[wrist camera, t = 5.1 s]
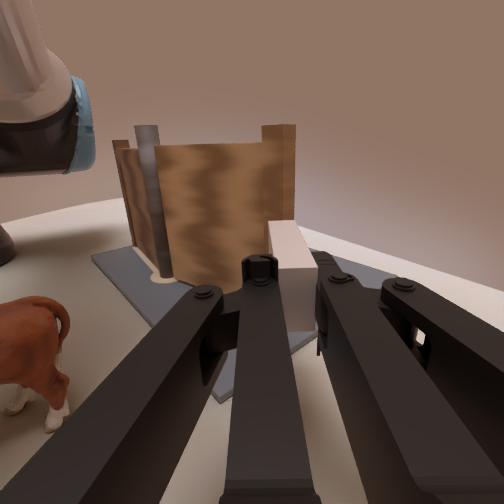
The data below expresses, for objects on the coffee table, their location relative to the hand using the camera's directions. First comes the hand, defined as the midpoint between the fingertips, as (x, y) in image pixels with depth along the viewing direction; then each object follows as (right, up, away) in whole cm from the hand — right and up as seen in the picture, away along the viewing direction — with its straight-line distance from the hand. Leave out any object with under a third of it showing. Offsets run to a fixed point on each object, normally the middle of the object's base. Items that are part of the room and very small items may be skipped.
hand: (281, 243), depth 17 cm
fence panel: (-4, -4, +10) cm, 12 cm away
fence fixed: (-14, -2, +20) cm, 24 cm away
